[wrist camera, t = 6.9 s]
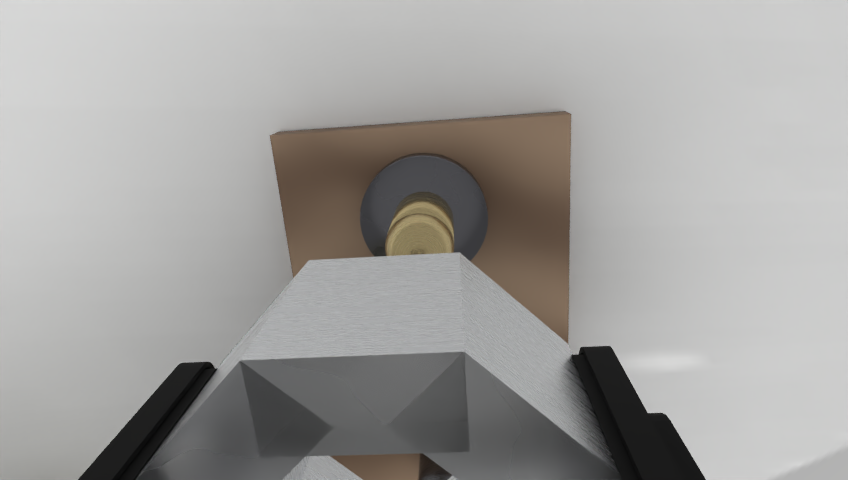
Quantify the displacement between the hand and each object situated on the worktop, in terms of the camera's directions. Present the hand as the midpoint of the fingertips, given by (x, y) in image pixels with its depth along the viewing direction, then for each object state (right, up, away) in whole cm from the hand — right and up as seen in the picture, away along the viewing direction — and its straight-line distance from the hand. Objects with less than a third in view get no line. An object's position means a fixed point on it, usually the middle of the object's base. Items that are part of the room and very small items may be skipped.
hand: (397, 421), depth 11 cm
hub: (+1, +5, +14) cm, 15 cm away
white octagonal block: (0, 0, 0) cm, 0 cm away
